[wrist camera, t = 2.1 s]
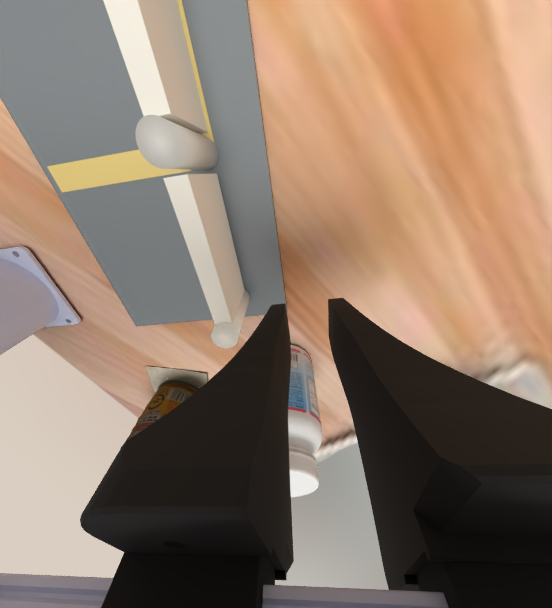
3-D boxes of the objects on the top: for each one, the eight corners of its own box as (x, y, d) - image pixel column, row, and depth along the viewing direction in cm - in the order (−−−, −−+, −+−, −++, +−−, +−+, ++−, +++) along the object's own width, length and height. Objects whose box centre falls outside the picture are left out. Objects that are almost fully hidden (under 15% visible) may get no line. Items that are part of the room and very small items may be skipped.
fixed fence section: (221, 167, 14) (186, 165, 9) (196, 172, 15) (147, 171, 9) (140, -191, 8) (-93, -771, 3) (98, -175, 8) (-185, -700, 3)
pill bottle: (249, 367, 25) (226, 488, 15) (276, 333, 22) (268, 455, 13) (292, 386, 26) (296, 507, 17) (323, 356, 24) (348, 481, 14)
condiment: (159, 407, 30) (93, 528, 20) (146, 365, 26) (54, 493, 15) (211, 412, 30) (172, 535, 20) (207, 371, 26) (156, 502, 16)
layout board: (138, 323, 22) (135, 326, 22) (-116, -113, 10) (-135, -126, 9) (287, 310, 21) (287, 313, 20) (215, -236, 8) (212, -259, 8)
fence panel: (195, 177, 14) (150, 179, 10) (221, 172, 14) (188, 172, 9) (232, 306, 20) (214, 349, 15) (251, 304, 19) (240, 347, 15)
